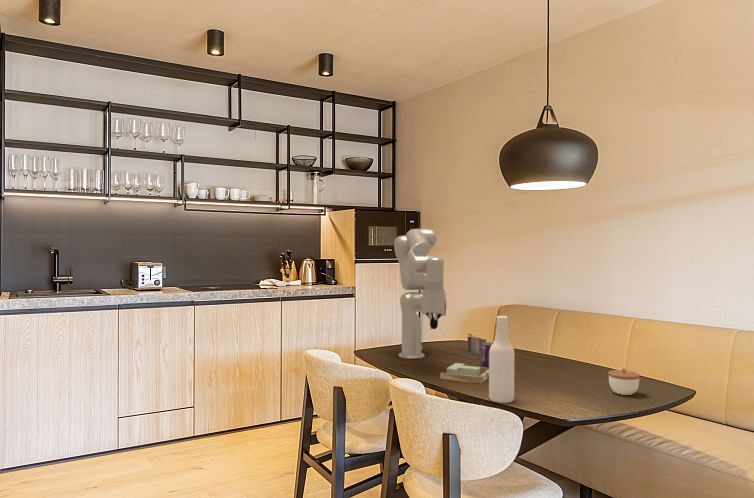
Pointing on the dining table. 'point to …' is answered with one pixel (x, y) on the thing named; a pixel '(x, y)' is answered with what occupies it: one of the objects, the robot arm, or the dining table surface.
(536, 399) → the dining table surface
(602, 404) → the dining table surface
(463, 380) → the oak frame
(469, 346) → the ruin model on sheet
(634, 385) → the lidded jar
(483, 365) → the beverage can
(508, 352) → the alcohol
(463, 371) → the tee block
